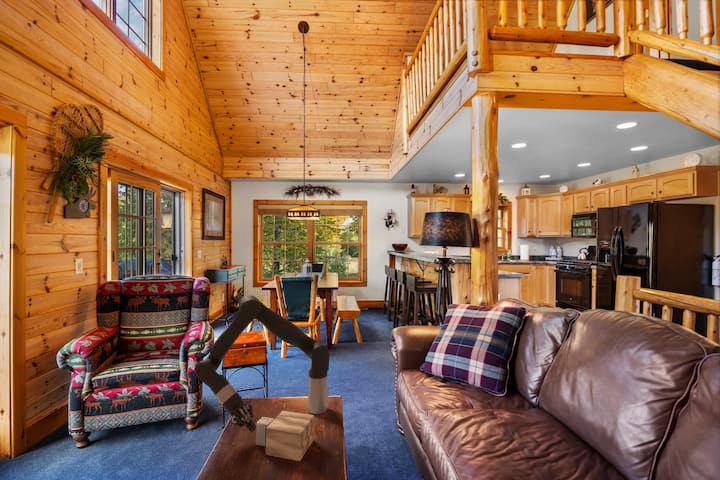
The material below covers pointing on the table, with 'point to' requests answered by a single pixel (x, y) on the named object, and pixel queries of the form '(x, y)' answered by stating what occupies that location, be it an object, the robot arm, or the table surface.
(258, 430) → the peg
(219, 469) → the table surface
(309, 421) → the socket block
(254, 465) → the table surface
